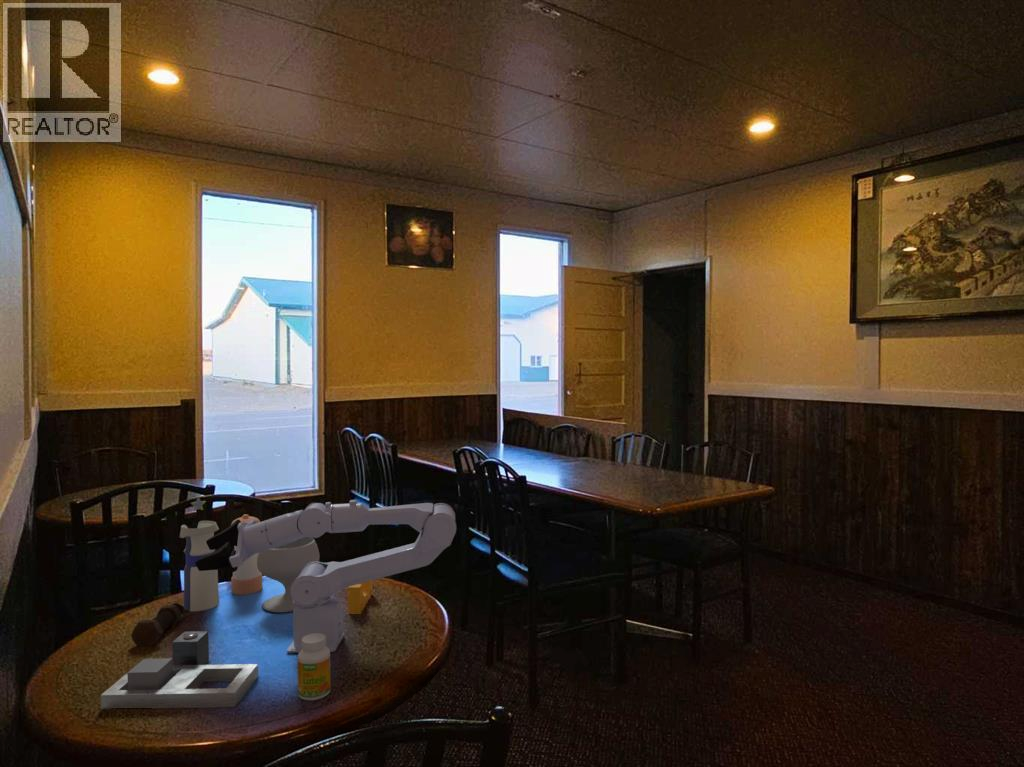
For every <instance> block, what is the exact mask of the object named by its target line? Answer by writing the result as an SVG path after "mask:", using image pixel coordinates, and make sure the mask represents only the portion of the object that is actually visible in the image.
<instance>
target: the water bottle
mask: <svg viewBox="0 0 1024 767" xmlns="http://www.w3.org/2000/svg"><path fill="white" fill-rule="evenodd" d="M206 502H207V500H206V501H205V500H202V501H201V499H200V498H199V497H197V498H196V501H193V502H190V504H191V505H192V506H193V512H195V511H197V510H201V511H203V510H204V507H203V505H205V503H206ZM219 530H220V528H219V526H218V524H217V522H216V521H213V520H200V521H199V522H198V524H197V527H196V528H195V527H194V528H189V527H188V526H187V525H186V524H182V525H181V526H180V532H179V538H180V539H185V540H186V541H185V542H186V545H185V549H184V550H183V553H184V554H185V566H184V569H183V606H184V610H183V611H187V612H201V611H208V610H210V609H213V608H216V607H217V606H219V604H220V602H221V601H220V594H219V593H220V592H219V578H218V577H219V574H218V571H219V570H207V571H199V570H198V568H197V566H196V564H195V561H196V560H198V559H199V558H201V557H204V556H206V555H208V554H211V553H213V552H215V551H216V550H210V549H209V547H208V545H207V543H206V541H207V540H208V539H210V538H211V537H213V536H215V532H217V531H219Z"/></svg>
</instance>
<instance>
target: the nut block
mask: <svg viewBox="0 0 1024 767" xmlns="http://www.w3.org/2000/svg"><path fill="white" fill-rule="evenodd" d="M171 644H172V645H171V648H172V651H171V652H172V658H173V665H208V664H209V662H210V655H209V654H210V652H209V651H210V650H209V648H210V647H209V630H208V631H207V630H205V631H204V630H203V631H200V630H199V631H197V630H196V631H184V632H182V633H181V634H180V635H179V636H178V637H176V638H175V639H174V640H173V641H172V643H171Z"/></svg>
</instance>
